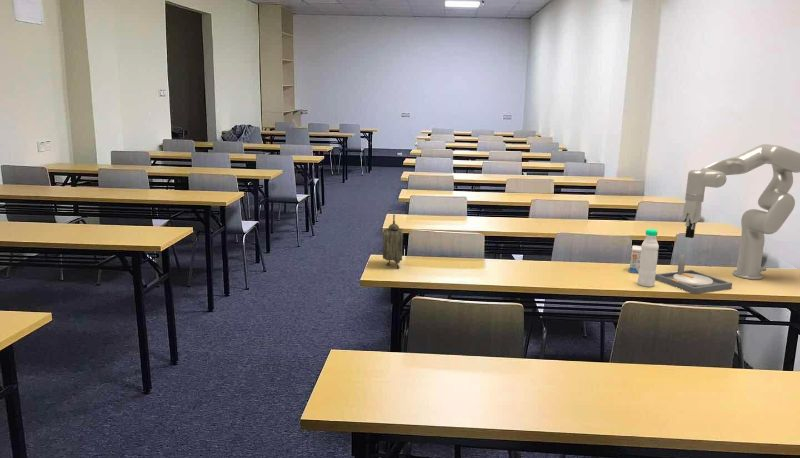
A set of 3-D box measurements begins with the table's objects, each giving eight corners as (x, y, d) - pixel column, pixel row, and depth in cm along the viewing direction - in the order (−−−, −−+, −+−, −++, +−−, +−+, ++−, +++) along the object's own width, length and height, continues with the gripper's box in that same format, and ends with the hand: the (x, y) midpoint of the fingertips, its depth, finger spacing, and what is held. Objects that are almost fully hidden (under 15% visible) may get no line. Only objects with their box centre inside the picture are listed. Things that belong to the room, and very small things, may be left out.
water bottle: (655, 287, 264) (662, 232, 259) (638, 286, 266) (644, 231, 260) (652, 283, 271) (658, 228, 266) (636, 281, 272) (641, 227, 267)
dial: (720, 284, 266) (724, 261, 264) (693, 288, 260) (696, 264, 258) (690, 274, 281) (693, 252, 279) (664, 277, 275) (667, 255, 273)
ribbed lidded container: (401, 270, 284) (402, 217, 279) (382, 269, 284) (383, 217, 279) (402, 261, 298) (402, 212, 293) (383, 261, 299) (384, 211, 293)
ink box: (629, 272, 287) (631, 248, 285) (629, 268, 295) (631, 244, 292) (648, 274, 284) (651, 250, 282) (648, 270, 292) (651, 246, 289)
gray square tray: (690, 275, 285) (691, 269, 284) (731, 288, 265) (732, 282, 264) (654, 279, 277) (655, 273, 276) (693, 293, 257) (694, 287, 256)
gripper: (692, 195, 281) (687, 233, 285) (679, 198, 271) (674, 238, 275) (709, 197, 276) (704, 236, 280) (696, 200, 265) (691, 241, 269)
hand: (689, 237), depth 277 cm, fingers closed
